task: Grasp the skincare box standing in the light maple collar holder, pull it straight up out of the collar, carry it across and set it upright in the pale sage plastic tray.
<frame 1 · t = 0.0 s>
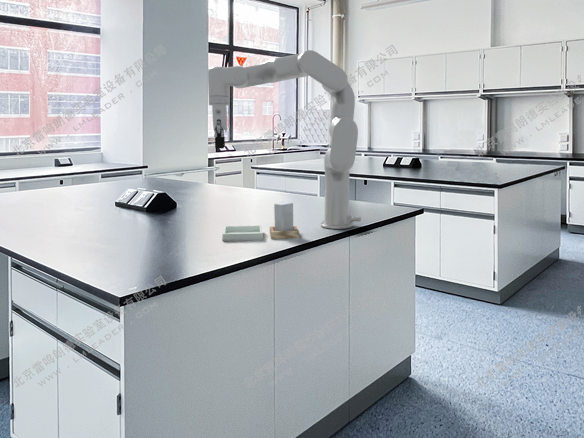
hand: (220, 147, 200), 31 cm above the countertop, tool pointing down, fingers open, 9 cm apart
tray: (242, 236, 192), on the countertop
skincare box: (284, 236, 194), resting in collar holder
collar holder: (284, 235, 194), on the countertop
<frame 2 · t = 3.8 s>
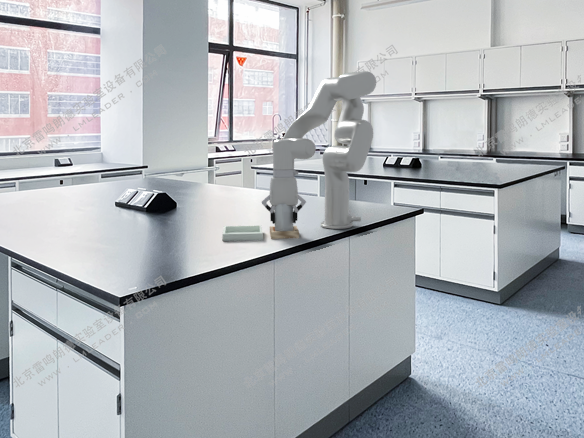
hand: (283, 222, 193), 5 cm above the countertop, tool pointing down, fingers closed on skincare box, 7 cm apart
skincare box: (283, 236, 194), resting in collar holder, touching gripper
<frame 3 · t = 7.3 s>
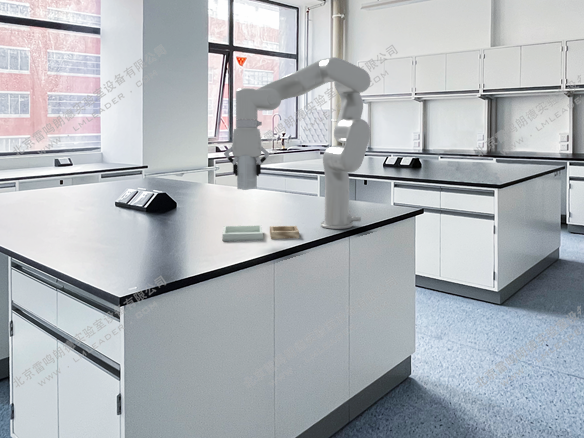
hand: (247, 175, 188), 22 cm above the countertop, tool pointing down, fingers closed on skincare box, 7 cm apart
skincare box: (246, 189, 189), point 17 cm above the countertop, touching gripper
when the fingers open (6 cm above the countertop, at t = 11.0 s): skincare box stays where it is, resting on tray.
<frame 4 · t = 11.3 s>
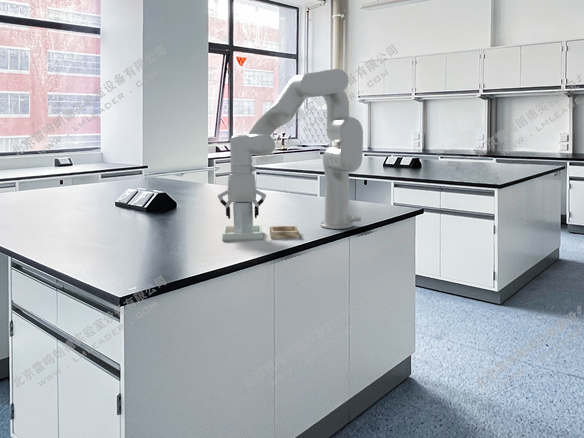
hand: (242, 217, 191), 7 cm above the countertop, tool pointing down, fingers open, 9 cm apart
skincare box: (243, 235, 192), resting on tray
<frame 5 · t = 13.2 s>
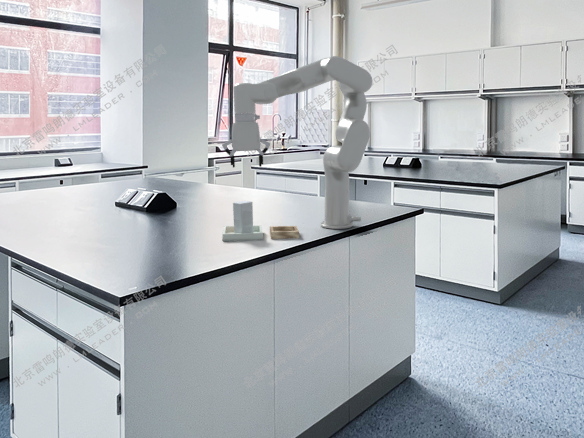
hand: (247, 166, 193), 25 cm above the countertop, tool pointing down, fingers open, 9 cm apart
nothing on the countertop moved.
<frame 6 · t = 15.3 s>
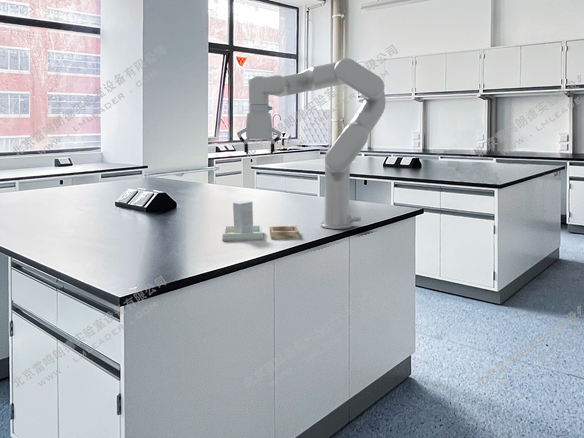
hand: (259, 154, 207), 28 cm above the countertop, tool pointing down, fingers open, 9 cm apart
nothing on the countertop moved.
at the end: skincare box inside the target area on the tray (0.3 cm from its centre), point 0.4 cm above the tray's base; skincare box tilted 0°; the gripper is holding nothing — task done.
